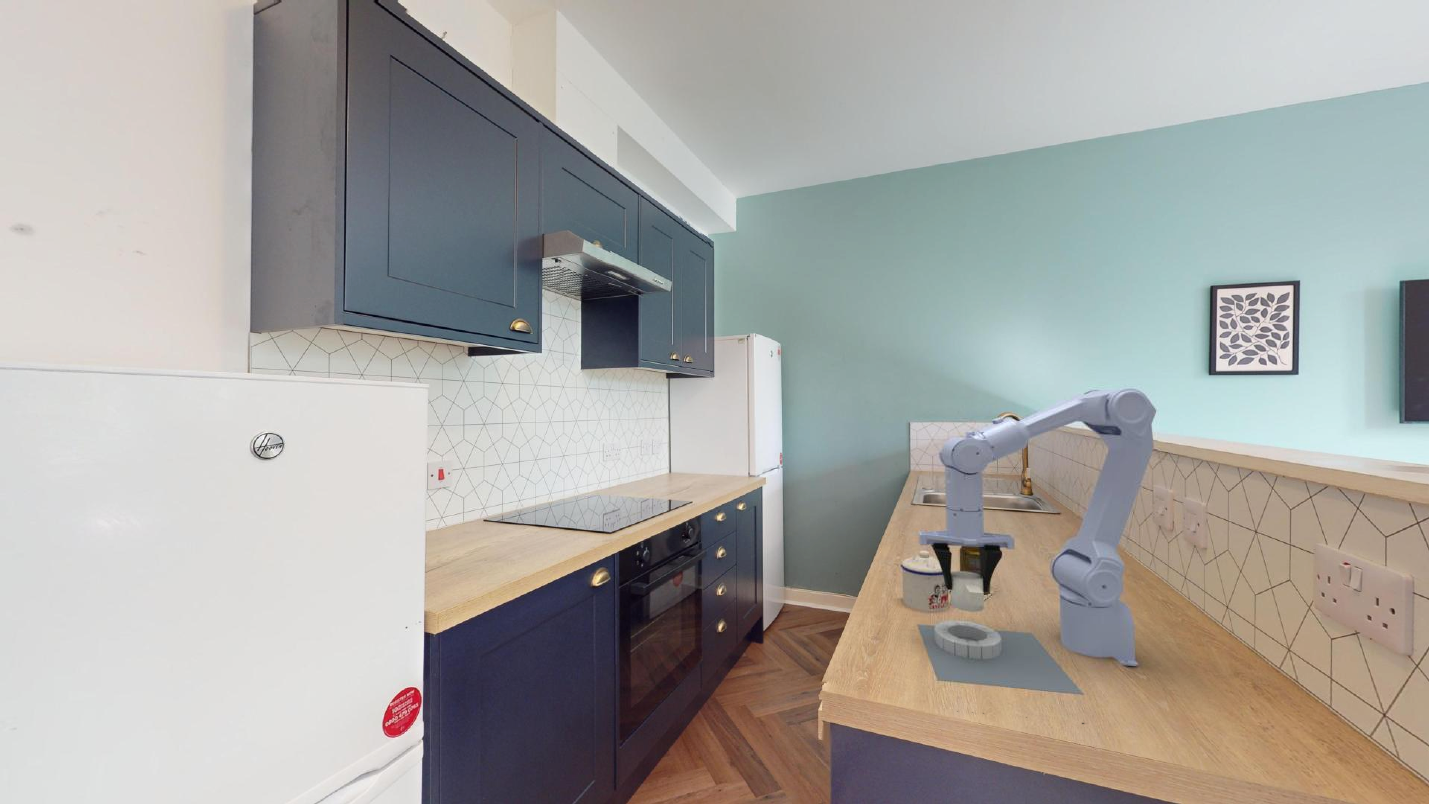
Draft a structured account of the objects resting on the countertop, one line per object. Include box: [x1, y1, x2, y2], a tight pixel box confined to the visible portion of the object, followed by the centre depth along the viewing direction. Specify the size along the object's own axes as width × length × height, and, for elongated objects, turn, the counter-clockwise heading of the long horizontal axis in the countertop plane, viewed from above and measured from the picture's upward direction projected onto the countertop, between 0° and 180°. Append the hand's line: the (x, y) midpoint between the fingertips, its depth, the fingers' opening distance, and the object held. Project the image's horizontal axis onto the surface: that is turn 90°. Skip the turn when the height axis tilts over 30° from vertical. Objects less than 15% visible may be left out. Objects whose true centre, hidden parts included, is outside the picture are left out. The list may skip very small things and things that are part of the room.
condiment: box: [949, 546, 998, 601], centre depth 115 cm, size 7×8×12 cm
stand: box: [916, 619, 1085, 696], centre depth 84 cm, size 19×20×3 cm
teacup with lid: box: [900, 550, 950, 613], centre depth 106 cm, size 12×9×12 cm
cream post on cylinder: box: [950, 570, 985, 613], centre depth 85 cm, size 9×5×5 cm, turn 166°
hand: (966, 588), depth 87 cm, fingers closed on cream post on cylinder, 5 cm apart
